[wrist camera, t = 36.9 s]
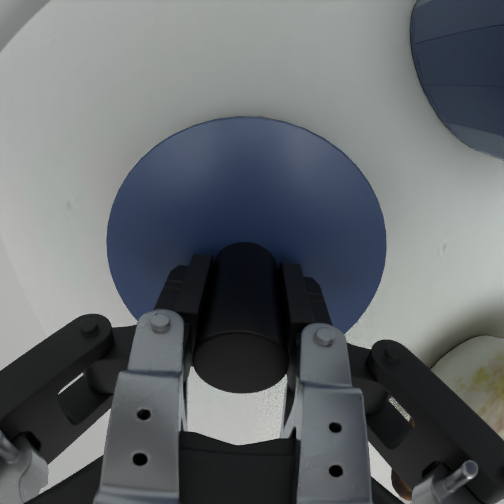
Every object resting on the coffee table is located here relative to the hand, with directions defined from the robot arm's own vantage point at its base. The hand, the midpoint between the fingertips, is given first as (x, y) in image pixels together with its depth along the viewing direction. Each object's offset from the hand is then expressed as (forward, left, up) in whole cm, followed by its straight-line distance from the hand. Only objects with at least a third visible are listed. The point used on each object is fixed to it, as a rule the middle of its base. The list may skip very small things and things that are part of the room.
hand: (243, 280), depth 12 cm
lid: (0, 0, -1) cm, 1 cm away
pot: (+12, +12, -4) cm, 18 cm away
